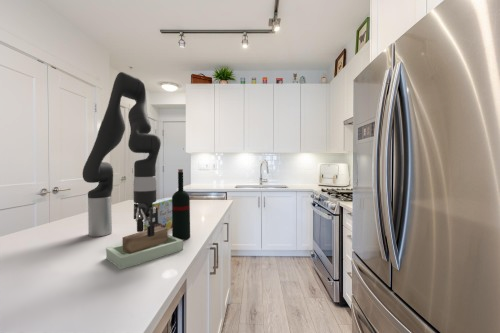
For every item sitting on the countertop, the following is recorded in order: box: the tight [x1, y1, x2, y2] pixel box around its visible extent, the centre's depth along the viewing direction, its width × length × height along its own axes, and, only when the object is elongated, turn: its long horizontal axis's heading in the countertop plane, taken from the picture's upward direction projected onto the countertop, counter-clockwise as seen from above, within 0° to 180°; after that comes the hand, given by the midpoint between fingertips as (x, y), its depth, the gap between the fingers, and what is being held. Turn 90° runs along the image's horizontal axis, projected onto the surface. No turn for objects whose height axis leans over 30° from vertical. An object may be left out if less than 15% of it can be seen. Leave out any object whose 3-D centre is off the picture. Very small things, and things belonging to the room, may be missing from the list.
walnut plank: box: [122, 227, 169, 254], centre depth 86 cm, size 5×15×5 cm, turn 152°
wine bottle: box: [171, 168, 191, 241], centre depth 105 cm, size 8×10×30 cm
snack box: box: [143, 196, 172, 231], centre depth 116 cm, size 21×6×15 cm, turn 168°
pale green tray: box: [105, 234, 184, 270], centre depth 86 cm, size 13×22×4 cm, turn 138°
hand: (145, 233), depth 86 cm, fingers open, 8 cm apart
